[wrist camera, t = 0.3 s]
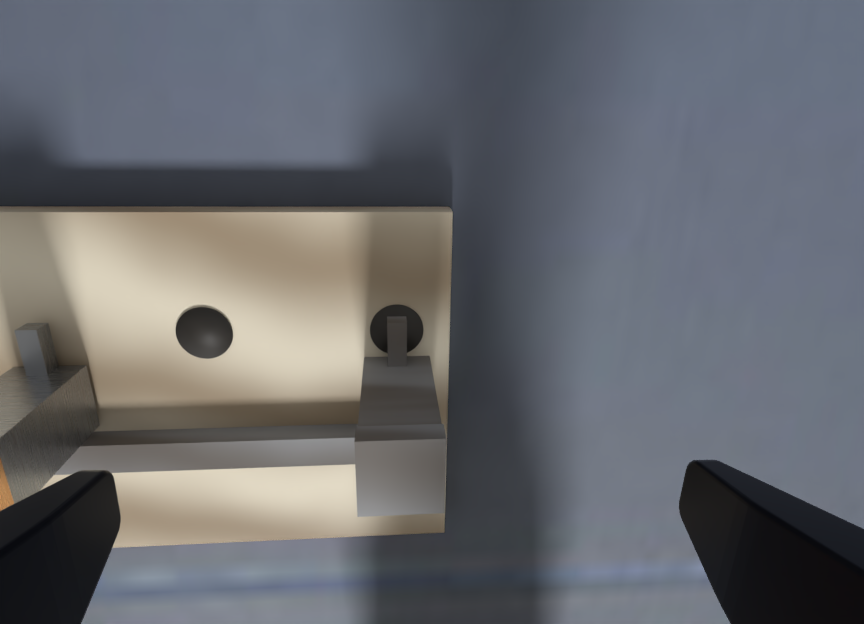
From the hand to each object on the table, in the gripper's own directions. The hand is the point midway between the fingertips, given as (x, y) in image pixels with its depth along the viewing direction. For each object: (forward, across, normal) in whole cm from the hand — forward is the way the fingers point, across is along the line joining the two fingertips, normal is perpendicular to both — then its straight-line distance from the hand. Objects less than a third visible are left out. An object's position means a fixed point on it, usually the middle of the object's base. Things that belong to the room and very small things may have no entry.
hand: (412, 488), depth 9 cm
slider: (+12, +13, +4) cm, 18 cm away
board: (+13, +10, +5) cm, 18 cm away
